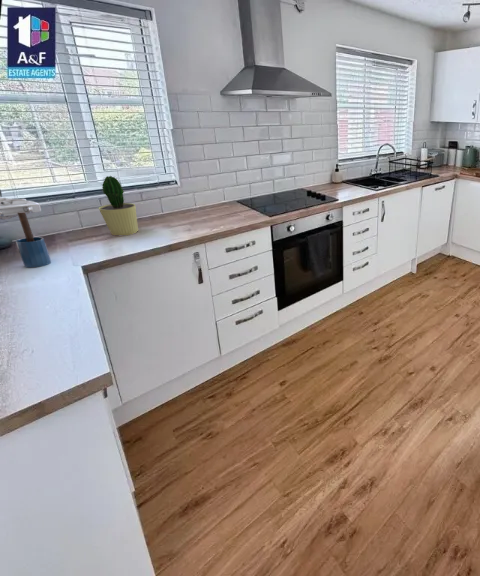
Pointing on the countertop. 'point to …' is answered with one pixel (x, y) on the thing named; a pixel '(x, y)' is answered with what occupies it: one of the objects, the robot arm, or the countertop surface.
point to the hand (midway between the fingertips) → (16, 212)
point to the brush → (25, 226)
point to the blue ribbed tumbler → (33, 252)
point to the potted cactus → (118, 209)
